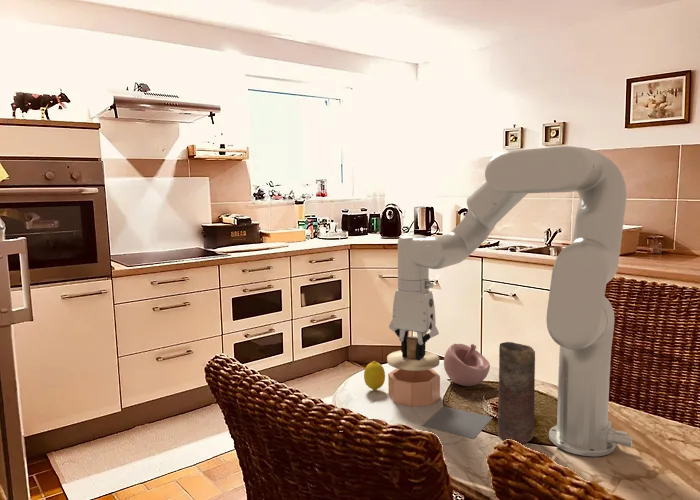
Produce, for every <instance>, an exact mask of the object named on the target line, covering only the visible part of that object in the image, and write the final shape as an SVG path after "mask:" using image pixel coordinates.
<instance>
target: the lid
mask: <svg viewBox="0 0 700 500" xmlns="http://www.w3.org/2000/svg"><path fill="white" fill-rule="evenodd" d="M417 344H418V336H409V337H407V357H405V358H404V357H402V352H401V349H400V350H395V351H392V352H391V353H389V354H388V355H387V356H386V363H387V364H388V365H389V366H390V367H393V368H394V369H402V370H410V371H421V370H428V369H435V368H436V367H438V366H439V365H440V356H439V355H437V354H436V353H434V352H431V351H427V350H425V356H424V357H423V358H422V359H420V360H417V359H416V345H417Z"/></svg>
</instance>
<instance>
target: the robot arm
mask: <svg viewBox="0 0 700 500" xmlns="http://www.w3.org/2000/svg"><path fill="white" fill-rule="evenodd" d="M484 177H485V180H483V181H482V183H481V184H480V185H478V187H476V188H475V190H473V192H472V193H470V195H469V196H468V197H467V199H466V206H467V213H466V214H465V215H464V218H462V220H461V221H460V222H459V223H458V224H457V225H456V226H455V227H454V228H453V229H452V230H451V231H450V232H449V233H448V234H442V235H438V236H432V237H427V236H426V235H422V234H404V235H401V236H399V238H398V240H397V289H395V293H394V296H393V297H394V298H393V305H392V319H391V322H390V323H389V326H388V329H390V330H391V331H392V332H394V334H396V336H397V337H398V338H399V339H398V340H399V341H400V342H401V343H400V344H401V346H400V347H401V348H400V350H401V352H402V357H404V358H405V357H407V337H410V336H409V334H410V332H414V333H415V332H416V334H417V336H416V337H418V344H417V345H416V359H417V360H420V359H422V358H423V357H424V356H425V351H426V343H427V342H428V341H429V340H430V339H432V338H434V337H437V335H439V330H438V328H437V326H436V323H437V321H436V307H435V300H434V295H433V290H430V289H431V288H432V289H433V288H434V282H432V281H430V278H429V276H430V275H429V269H432V270H439V269H444V268H447V267H450V266H454V265H458V264H460V263H462V262H463V261H465V260H466V259H467V258H468V257H469V256H470V255H471V254H473V253H474V252H475V250H477V249H478V248H479V247H480V246H481V245H482V244H483V243H484V242H486V240H487V239H488V237H489V236H490V234H491V233H492V231H493V230H494V229H495V227H496V225H497V224H498V223H499V222H500V221H502V219H503V218H504V217H505V216H506V215H508V213H509V212H511V210H512V209H514V207H515V206H516V205H517V204H518V203H520V202H521V201H522V200H523V199H524V198H525V197H526V196H527V195H528V194H541V193H542V194H546V193H547V194H549V193H551V194H553V193H555V194H556V193H558V194H559V193H572V192H576V193H578V195H579V202H578V206H577V211H576V213H575V221H574V222H575V223H574V228H573V230H574V231H573V234H572V235H573V236H572V237H573V238H572V241H571V243H570V244H568V245H567V246H565V247H564V248H562V250H561V251H560V252H559V253H558V255H557V256H556V259H555V261H554V263H553V267H552V272H551V279H550V284H549V286H550V287H549V293H548V294H549V295H548V302H547V310H546V327H547V331H548V334H549V335H550V337H551V339H552V340H553V341H554V342H555V344H557V345H559V352H558V353H559V354H558V377H557V380H558V381H557V383H558V384H557V414H556V416H557V418H556V425H554V426H552V427H551V428H550V429H549V431H548V438H549V440H550V441H551V442H552V443H553V445H555V446H556V447H557V448H558V449H560V450H561V451H565V452H567V453H570V454H573V455H578V456H582V457H583V456H584V457H601V456H602V457H603V456H608V455H610V454H612V453H613V452H614V451H615V450H616V445H619V446H622V447H623V446H624V447H627V448H632V446H633V437H632V436H628V434H627V433H628V432H626V431H622V430H617V429H615V428H614V427H612V421H611V420H609V399H610V398H609V397H610V394H609V393H610V376H611V361H612V360H611V359H612V358H611V357H612V346H613V337H614V331H615V329H614V328H615V320H616V319H615V312H614V311H615V310H614V308H613V305H612V304H611V302H610V300H609V299H608V298H607V297H606V296H605V295H606V290H607V289H606V288H607V284H608V283H609V282H610V281H612V280H613V278H614V277H616V275H617V274H618V273H617V272H618V270H619V265H620V264H619V262H620V261H619V260H620V251H621V247H622V246H621V245H622V238H623V231H624V230H623V229H624V222H625V221H624V219H625V213H626V206H627V186H626V181H625V178H624V176H623V173H622V172H621V170H620V168H619V167H618V166H617V164H616V163H615V162H613V160H611V159H610V158H609V157H607V156H605V155H604V154H602V153H601V152H598V151H597V150H594V149H590V148H588V147H587V148H586V147H580V146H579V147H577V146H571V145H570V146H568V145H567V146H566V145H565V146H564V145H563V146H561V145H560V146H554V147H553V146H551V147H550V146H549V147H541V148H529V149H515V150H514V149H513V150H511V149H510V150H503V151H500V152H498V153H496V154H495V155H493V157H492V158H490V159H489V160H488V163H487V164H486V167H485V170H484ZM429 331H430V332H429ZM428 332H429V333H428Z"/></svg>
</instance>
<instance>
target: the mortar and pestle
mask: <svg viewBox="0 0 700 500" xmlns="http://www.w3.org/2000/svg"><path fill="white" fill-rule="evenodd" d="M476 349H477V346H476V345H475V344H474V343H471V344H470V346H469V345H466V344H463V343H453V344H451V345H450V346H449V347H448V349H447V350H446V352H445V353H444V357H443V367H444V368H443V369H444V371H445V373H446V375H447V376H448V378H449V379H450V380H451V381H452V382H454V383H455V384H457V385H460V386H462V387H473V386H476V385H478V384H480V383H482V382H483V381H484V380H485V379H486V378H487V376H488V375H489V371H490V368H491V363H490V362H489V360H488V359H487V358H485V356H484V355H483V354H481V353H480V352H479V351H477V350H476Z"/></svg>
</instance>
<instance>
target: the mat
mask: <svg viewBox="0 0 700 500" xmlns="http://www.w3.org/2000/svg"><path fill="white" fill-rule="evenodd" d="M492 419H494V418H493V416H489V415H486V414H485V415H484V414H480V413H476V412H471V411H466V410H462V409H458V408H454V407H448V406H445V405H444V406H442V407H441V408H440V409H439V410H438V411H437V412H436V413H434V414H433V415H432V416H431V417H429V419H427V420H426V421H425V422H424V423H423V424H422V425H421V427H425V428H428V429H433V430H437V431H440V432H444V433H448V434H453V435H456V436H460V437H464V438H467V439H472V440H475V438H476V437H477V436H478V435H479V434H480V433H481V432H482V431H483V430H484V428H486V426H487V425H488V423H490V422H491V421H492Z"/></svg>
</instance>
